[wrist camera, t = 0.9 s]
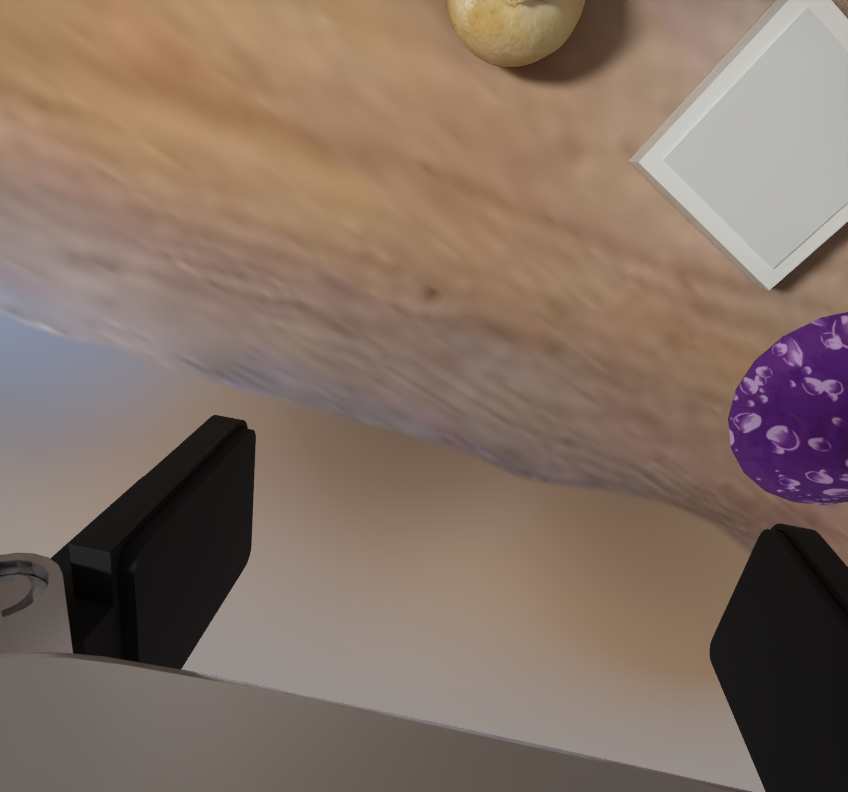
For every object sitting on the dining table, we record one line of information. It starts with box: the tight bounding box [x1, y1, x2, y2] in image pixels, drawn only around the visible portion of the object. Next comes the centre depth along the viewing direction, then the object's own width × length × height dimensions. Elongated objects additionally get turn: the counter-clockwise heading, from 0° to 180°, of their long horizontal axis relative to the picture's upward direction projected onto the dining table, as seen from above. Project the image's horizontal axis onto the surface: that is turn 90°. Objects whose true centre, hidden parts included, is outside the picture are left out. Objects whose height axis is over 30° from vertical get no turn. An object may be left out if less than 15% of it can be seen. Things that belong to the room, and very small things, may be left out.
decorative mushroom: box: [728, 312, 848, 505], centre depth 35 cm, size 12×12×15 cm
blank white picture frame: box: [628, 0, 848, 290], centre depth 36 cm, size 12×12×3 cm
